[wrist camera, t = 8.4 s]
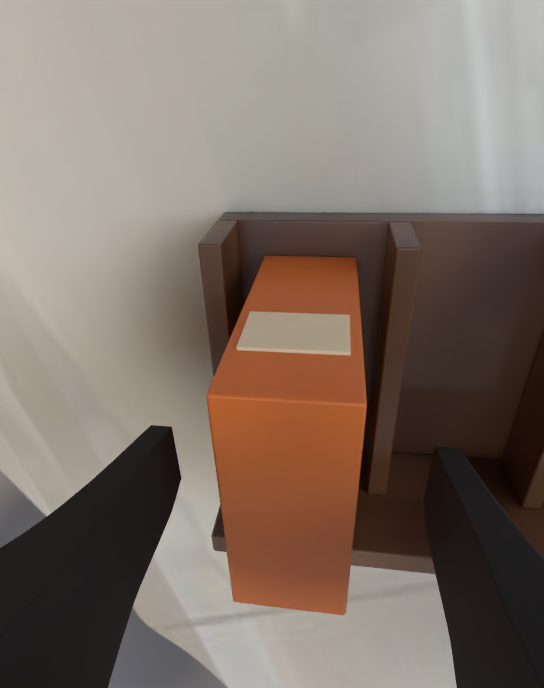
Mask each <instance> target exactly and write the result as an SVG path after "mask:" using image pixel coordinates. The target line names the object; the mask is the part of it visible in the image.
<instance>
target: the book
mask: <svg viewBox="0 0 544 688" xmlns="http://www.w3.org/2000/svg"><path fill="white" fill-rule="evenodd" d="M206 397H207V405H208V412H209V420H210V428H211V435H212V443H213V450H214V458H215V466H216V473H217V481H218V488H219V496H220V503H221V511H222V519H223V526H224V534H225V541H226V549H227V557H228V564H229V572H230V579H231V587H232V594H233V601H234V602H239V603H247V604H255V605H264V606H272V607H280V608H289V609H297V610H305V611H313V612H322V613H330V614H338V615H345V613H346V605H347V596H348V586H349V576H350V566H351V557H352V547H353V537H354V527H355V518H356V508H357V498H358V488H359V479H360V469H361V459H362V449H363V440H364V430H365V420H366V410H367V398H366V384H365V370H364V356H363V341H362V327H361V313H360V299H359V285H358V271H357V259H356V258H355V257H312V256H264V258H263V261H262V263H261V266H260V268H259V270H258V273H257V275H256V278H255V280H254V282H253V285H252V287H251V289H250V292H249V294H248V297H247V299H246V301H245V304H244V306H243V309H242V311H241V313H240V316H239V318H238V321H237V323H236V325H235V328H234V330H233V333H232V335H231V337H230V340H229V342H228V344H227V347H226V349H225V352H224V354H223V356H222V359H221V361H220V364H219V366H218V368H217V371H216V373H215V376H214V378H213V380H212V383H211V385H210V388H209V390H208V392H207V395H206Z"/></svg>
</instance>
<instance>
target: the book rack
mask: <svg viewBox="0 0 544 688" xmlns="http://www.w3.org/2000/svg"><path fill="white" fill-rule="evenodd" d="M198 248H199V257H200V265H201V274H202V282H203V291H204V299H205V308H206V316H207V324H208V333H209V341H210V350H211V358H212V367H213V375H214V376H215V373H216V371H217V368H218V366H219V364H220V361H221V359H222V356H223V354H224V352H225V349H226V347H227V344H228V342H229V340H230V337H231V335H232V333H233V330H234V328H235V325H236V323H237V321H238V318H239V316H240V313H241V311H242V309H243V306H244V304H245V301H246V299H247V297H248V294H249V292H250V289H251V287H252V285H253V282H254V280H255V278H256V275H257V273H258V270H259V268H260V266H261V263H262V261H263V258H264V256H312V257H355V258H356V259H357V271H358V285H359V299H360V313H361V327H362V341H363V356H364V370H365V384H366V398H367V410H366V420H365V430H364V440H363V449H362V459H361V469H360V479H359V488H358V498H357V508H356V518H355V527H354V537H353V547H352V557H351V565H355V566H364V567H374V568H383V569H392V570H402V571H411V572H421V573H430V574H436V573H435V569H434V564H433V560H432V556H431V551H430V547H429V542H428V537H427V529H426V521H425V511H424V501H423V499H424V494H425V489H426V485H427V480H428V475H429V471H430V466H431V461H432V457H433V452H434V447H435V446H437V447H450V448H459V449H460V450H461V451H462V452H463V453H464V455H465V456H466V458H467V460H468V461H469V462H470V464H471V465H472V467H473V468H474V470H475V471H476V473H477V474H478V476H479V477H480V479H481V480H482V481H483V483H484V484H485V486H486V487H487V488H488V490H489V491H490V493H491V494H492V495H493V497H494V498H495V499H496V501H497V502H498V503H499V505H500V506H501V507H502V509H503V510H504V511H505V513H506V514H507V515H508V516H509V518H510V519H511V520H512V522H513V523H514V524H515V525H516V527H517V528H518V529H519V530H520V532H521V533H522V534H523V535H524V536H525V538H526V539H527V540H528V541H529V542H530V544H531V545H532V546H533V547H534V548H535V549H536V551H537V552H538V553H539V554H540V555H541V556H542V558H543V559H544V215H535V214H390V213H245V212H225V213H224V214H223V215H222V216H221V217H220V219H219V220H218V221H217V222H216V223H215V225H214V226H213V227H212V228H211V229H210V231H209V232H208V233H207V234H206V236H205V237H204V238H203V239H202V240H201V242H200V243H199V244H198ZM212 542H213V548H214V550H215V551H223V552H227V549H226V541H225V534H224V526H223V519H222V511H221V504H220V507H219V511H218V515H217V518H216V522H215V525H214V529H213V532H212Z"/></svg>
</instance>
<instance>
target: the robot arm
mask: <svg viewBox="0 0 544 688" xmlns="http://www.w3.org/2000/svg"><path fill="white" fill-rule="evenodd" d="M180 480H181V474H180V469H179V463H178V458H177V453H176V448H175V442H174V437H173V432H172V427H166V426H153V425H151V426H150V427H149V428H148V429H147V430H146V431H144V432H143V433H142V434H141V435H140V436H139V437H138V438H137V439H136V440H135V441H134V442H133V443H132V444H131V445H130V446H129V447H127V448H126V449H125V450H124V451H123V452H122V453H121V454H120V455H119V456H118V457H117V458H116V459H115V460H114V461H113V462H111V463H110V464H109V465H108V466H107V467H106V468H105V469H104V470H103V471H102V472H100V473H99V474H98V475H97V476H96V477H95V478H94V479H93V480H92V481H90V482H89V483H88V484H87V485H86V486H84V487H83V488H82V489H81V490H80V491H79V492H77V493H76V494H75V495H74V496H73V497H71V498H70V499H69V500H68V501H67V502H65V503H64V504H63V505H62V506H60V507H59V508H58V509H56V510H55V511H54V512H52V513H51V514H50V515H49V516H47V517H46V518H44V519H43V520H42V521H40V522H39V523H37V524H36V525H35V526H33V527H32V528H30V529H29V530H28V531H26V532H25V533H23V534H22V535H20V536H19V537H17V538H15V539H14V540H12V541H11V542H9V543H8V544H6V545H5V546H3V547H1V548H0V688H108V685H109V681H110V678H111V675H112V671H113V668H114V665H115V661H116V658H117V654H118V651H119V648H120V644H121V641H122V638H123V635H124V632H125V629H126V625H127V622H128V619H129V616H130V613H131V610H132V607H133V604H134V601H135V598H136V596H137V593H138V590H139V588H140V585H141V583H142V581H143V578H144V576H145V574H146V571H147V569H148V567H149V564H150V562H151V560H152V557H153V555H154V552H155V550H156V548H157V545H158V543H159V541H160V538H161V536H162V534H163V531H164V529H165V526H166V524H167V522H168V519H169V517H170V514H171V512H172V509H173V505H174V502H175V499H176V495H177V491H178V488H179V484H180ZM423 501H424V511H425V521H426V529H427V537H428V542H429V547H430V551H431V556H432V560H433V564H434V569H435V573H436V578H437V582H438V586H439V591H440V595H441V599H442V604H443V608H444V612H445V617H446V621H447V626H448V631H449V636H450V642H451V647H452V655H453V662H454V669H455V677H456V684H457V688H544V559H543V558H542V556H541V555H540V554H539V553H538V552H537V551H536V549H535V548H534V547H533V546H532V545H531V544H530V542H529V541H528V540H527V539H526V538H525V536H524V535H523V534H522V533H521V532H520V530H519V529H518V528H517V527H516V525H515V524H514V523H513V522H512V520H511V519H510V518H509V516H508V515H507V514H506V513H505V511H504V510H503V509H502V507H501V506H500V505H499V503H498V502H497V501H496V499H495V498H494V497H493V495H492V494H491V493H490V491H489V490H488V488H487V487H486V486H485V484H484V483H483V481H482V480H481V479H480V477H479V476H478V474H477V473H476V471H475V470H474V468H473V467H472V465H471V464H470V462H469V461H468V460H467V458H466V456H465V455H464V453H463V452H462V451H461V450H460V449H459V448H450V447H437V446H435V447H434V452H433V457H432V461H431V466H430V471H429V475H428V480H427V485H426V489H425V494H424V499H423Z"/></svg>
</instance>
